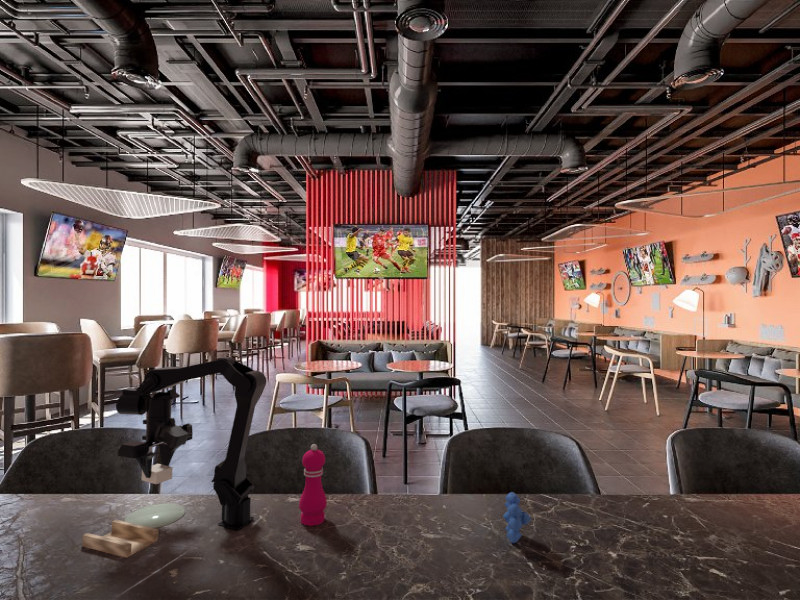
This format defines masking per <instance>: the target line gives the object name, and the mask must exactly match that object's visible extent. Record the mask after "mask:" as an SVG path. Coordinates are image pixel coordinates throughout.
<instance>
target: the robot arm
mask: <svg viewBox="0 0 800 600" xmlns="http://www.w3.org/2000/svg"><path fill="white" fill-rule="evenodd" d="M217 374H221V375H222V376H223V378H224V379H225V380H226V381H227V382H228V383H229V384H230V385H231V386H233V387H234V399H235V401H236V402H235V403H236V409H235V413H234V419H233V422H232V428H231V433H230V437H229V442H228V446H227V449H226V455H225V459H224V460H222V461H221V462H220V463H218V464H216V465H215V467H214V473H213V478H212V480H211V481H210V482H211V483H213V485H212V487H213V491H214V492H215V493H216V495H217V497H218V501H219V503H220V506H221V521H220V522H218V523H217V526H219V527H223V528H225V529H226V528H227V529H231V530H237V531H239V530H240V529H242V528H244V527H245V526H247V525H248V524H249V523H251V522H252V521H254V520H255V517H254V516H251V497H250V496H249V495H251V494H252V493H253V491H254V489H255V484H254V483H253V482H252V481H251V480H250V479H249V477H248V476H247V464H246V461H245V460H246V459H245V455H246V450H247V446H248V441H249V438H250V437H249V436H250V432H251V428H252V424H253V418H254V414H255V409H256V406H257V404H258V402H259V401H260V399H261V397H262V395H263V393H264V390H265V388H266V385H267V377H266V375H265V374H264V373H263V372H262V371H260V370H254V369H253V368H251V367H250V366H248V365H245V364H244V363H242V362H240V361H237V360H236V359H234V357H232V356H226V357H220V358H217V359H216V360H212V361H206V362H201V363H197V364H192V365H187V366H168V367H167V366H165V367H160V368H155V369H151V370H148V371H147V372H146V374H145V375H144V377H143V380H142V382H141V383H140V385H138V387H137V388H136V389H135V388H132V387H131V388H129V387H128V388H125V389H122V392H121V393H122V394H121V395H120V396H119V397H118V399H117V401H116V403H115V410H116V412H117V413H118V414H120V415H134V416H135V415H136V416H139V415H140V416H142V415H145V414H146V419H143V420H142V425H145V427H146V428H145V434H144V435H142V436H141V439H142V441H137V440H132V441H129V442H125V443H122V444H120V445H119V446H118V449H117V457H123V458H131V459H135V460H136V462H137V463H138V465H139V467H140V468H141V472H142V471H143V473H144V474H145V476H146V478H150V477H151V470H152V465H153V458H154V457H155V455H156V454H157V452H154V451H153V448H154V447H157V446H158V448H159V449H158V450H159V457H160V464H162V465H166V466H170V464H171V461H172V458H173V456H174V454H175V452H176V450H177V449H178V448H180V447H181V446H184V445H185V444H186V443H187V442H188V441H191V440H193V434H194V433H193V424H191V423H184V424H183V425H181V424H180V425H177V424H176V419H175V417H172V405H173V404H172V403H173V402H172V400H175V399H178V398H180V397H181V395H180V394H179V393H178V392H176V391H175V389H173V388H172V387H175V386H177V385H179V384H181V383H184V382H186V381H189V380H194V379H199V378H202V377H208V376H212V375H217ZM169 388H172V389H169ZM165 389H166V390H167V389H168V390H167V391H162V390H165ZM153 393H154V394H153ZM253 519H254V520H253ZM251 520H252V521H251ZM250 521H251V522H250Z"/></svg>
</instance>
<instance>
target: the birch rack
mask: <svg viewBox="0 0 800 600" xmlns="http://www.w3.org/2000/svg"><path fill="white" fill-rule="evenodd" d="M158 541H159V528H151V527H146V526H142V525H137V524H133V523H128V522H125V520H124V521H123V520H119V519H115V520H112V521H111V531H110V532H108V533H107V534H104V535H103V536H101V535H97V534H93V533H89V532H86V533H84V534H82V544H81V545H82V547H83V548H88V549H92V550H96V551H99V552H103V553H107V554H111V555H115V556H119V557H123V558H129V557H131V556H133V555H135V554H137V553H138V552H140V551H142V550H144V549H145V548H147V547H148V546H151V545H152V544H154V543H155V542H158Z"/></svg>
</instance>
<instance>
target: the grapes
mask: <svg viewBox="0 0 800 600" xmlns="http://www.w3.org/2000/svg"><path fill="white" fill-rule="evenodd" d="M505 500H506V502H505V503H504V506H505V508H506V509H507V510H506V512H505V513H504V514H503V516H502V517H503V520H504V521H506V524H507V525H506V527H505V528H504V529H505V531H506V532H507V533H506V535H505V537H506V538H507V539H508V541H509V542H510V543H512V544H516V543H517V542H518V541H519V540H520V539H521V537H522V533H521V532H520V530H521V529H522V527H523V526H526V525H528V524H529V523H530V521H531V520H532V517H531V516H530V514H529V513H528V512H526V511H524V510H523V509H522V508H521V506H520V505H519V504H520V503H521V499H520V498H519V496H518V495H517V494H516V493H515V492H513V491H510V492H508V493H507V495H506V496H505Z"/></svg>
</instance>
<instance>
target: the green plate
mask: <svg viewBox="0 0 800 600" xmlns="http://www.w3.org/2000/svg"><path fill="white" fill-rule="evenodd" d="M185 514H186V507H185V506H183V505H182V504H178V503H158V504H153V505H150V506H149V505H148V506H145V507H143V508H139V509H137V510H135V511H133V512H131V513H130V514H129V515H127V516H126V517H125V519H124V522H128V523H133V524H137V525H142V526H146V527H151V528H155V529H158V528H160V527H165V526H167V525H170V524H172V523H174V522H176V521H178V520H180V519H181V518H182V517H183V516H184V515H185Z"/></svg>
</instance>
